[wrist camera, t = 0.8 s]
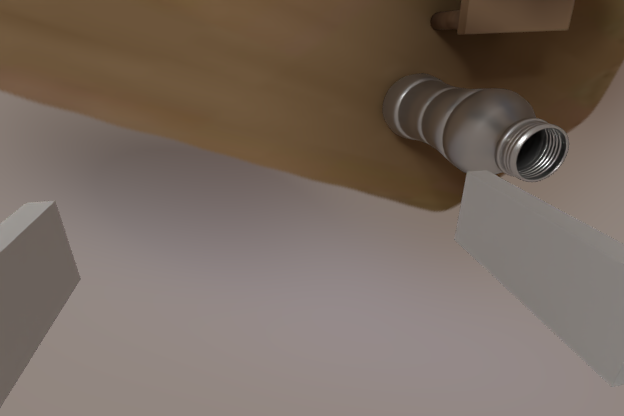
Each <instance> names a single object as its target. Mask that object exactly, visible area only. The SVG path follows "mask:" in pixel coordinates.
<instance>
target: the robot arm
mask: <svg viewBox="0 0 624 416" xmlns="http://www.w3.org/2000/svg"><path fill="white" fill-rule="evenodd" d="M454 240H455V241H456V242H457V243H458V244H459V245H460V246H461V247H462V248H463V249H465V250H466V251H467V252H468V253H469V254H470V255H471V256H472V257H473V258H474V259H475V260H476V261H477V262H478V263H480V264H481V265H482V266H483V267H484V268H485V269H486V270H487V271H488V272H489V273H490V274H491V275H492V276H494V277H495V278H496V279H497V280H498V281H499V282H500V283H501V284H502V285H503V286H504V287H505V288H506V289H507V290H509V291H510V292H511V293H512V294H513V295H514V296H515V297H516V298H517V299H518V300H519V301H520V302H521V303H522V304H523V305H525V306H526V307H527V308H528V309H529V310H530V311H531V312H532V313H533V314H534V315H535V316H536V317H537V318H538V319H540V320H541V321H542V322H543V323H544V324H545V325H546V326H547V327H548V328H549V329H551V331H552V332H553V333H555V334H556V335H557V336H558V337H559V338H560V339H561V340H562V341H563V342H564V343H565V344H567V346H568V347H570V348H571V349H572V350H573V351H574V352H575V353H576V354H577V355H578V356H579V357H580V358H581V359H582V360H584V361H585V362H586V363H587V364H588V365H589V366H590V367H591V368H592V369H593V370H594V371H595V372H596V373H597V374H599V375H600V376H601V377H602V378H603V379H604V380H605V381H606V382H607V383H608V384H609V385H610V386H611V387H614V386H620V385H624V244H623V243H621V242H619V241H617V240H615V239H614V238H612V237H610V236H608V235H606V234H604V233H602V232H601V231H599V230H597V229H595V228H593V227H591V226H589V225H588V224H586V223H584V222H582V221H580V220H578V219H576V218H575V217H572V216H570V215H569V214H567V213H565V212H563V211H561V210H560V209H558V208H556V207H554V206H552V205H550V204H548V203H547V202H545V201H543V200H541V199H539V198H537V197H536V196H534V195H532V194H530V193H528V192H526V191H524V190H523V189H521V188H519V187H517V186H515V185H513V184H511V183H509V182H508V181H506V180H504V179H502V178H500V177H498V176H497V175H495V174H493V173H491V172H489V171H487V170H483V171H468V172H467V174H466V180H465V185H464V190H463V196H462V201H461V206H460V212H459V217H458V222H457V228H456V233H455V239H454ZM79 281H80V276H79V273H78V269H77V266H76V263H75V260H74V257H73V254H72V251H71V248H70V245H69V242H68V239H67V236H66V233H65V229H64V226H63V224H62V220H61V217H60V214H59V211H58V208H57V205H56V202H55V201H46V202H32V203H25V204H24V205H23V206H21V207H20V208H19V209H18V210H17V211H15V212H14V213H13V214H12V215H10V216H9V217H8V218H7V219H6V220H4V221H3V222H2V223H1V224H0V407H1V406H2V404H3V402H4V401H5V399H6V398H7V396H8V395H9V393H10V391H11V390H12V388H13V386H14V385H15V383H16V382H17V380H18V378H19V377H20V375H21V374H22V372H23V371H24V369H25V367H26V366H27V364H28V363H29V361H30V359H31V358H32V356H33V354H34V353H35V351H36V350H37V348H38V346H39V344H40V343H41V342H42V340H43V338H44V337H45V335H46V334H47V332H48V330H49V329H50V327H51V326H52V324H53V322H54V321H55V319H56V318H57V316H58V314H59V313H60V311H61V310H62V308H63V306H64V305H65V303H66V302H67V300H68V298H69V296H70V295H71V293H72V292H73V290H74V289H75V287H76V286H77V284H78V282H79Z"/></svg>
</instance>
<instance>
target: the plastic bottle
mask: <svg viewBox="0 0 624 416" xmlns="http://www.w3.org/2000/svg"><path fill="white" fill-rule="evenodd" d="M382 110H383V117H384V120H385V122H386V123H387V125H388V126H389V128H390V129H391V130H392V131H393V132H394V133H395V134H397V135H398V136H401V137H404V138H407V139H413V140H419V141H422V142H425V143H427V144H429V145H430V146H432V147H433V148H435V149H436V150H438V151H439V152H440V153H441V154H442V155H443V156H444V157H445V158H446V159H447V160H448V161H450V162H451V163H452V164H453V165H454V166H456V167H457V168H458V169H460V170H461V171H463V172H465V173H467V172H468V171H483V170H487V171H489V172H491V173H493V174H498V173H501V172H504V173H505V174H507V175H510V176H515V177H517V178H518V179H520V180H523V181H527V182H537V181H541V180H543V179H545V178H547V177H549V176H550V175H552V174H553V173H554V172H555V171H556V170H557V169H558V168H559V167H560V166H561V164H562V163H563V161H564V160H565V158H566V156H567V153H568V148H569V139H568V136H567V134H566V132H565V131H564V130H563V129H562V128H560V127H558V126H556V125H553V124H549V123H547V122H546V121H544V120H542V119H538V118H536V116H535V113H534V110H533V108H532V106H531V105H530V104H529V102H528V101H526V100H525V99H524V98H523V97H521V96H520V95H519V94H518V93H516V92H513V91H511V90H507V89H498V88H488V89H466V88H457V87H453V86H451V85H448V84H446V83H444V82H443V81H441V80H440V79H438V78H436V77H434V76H432V75H429V74H424V73H421V74H413V75H409V76H405V77H403V78H401V79H399V80H398V81H397V82H395V83H394V84H393V85H392V86H391V87H390V89H389V90H388V92H387V94H386V96H385V98H384V102H383V109H382Z"/></svg>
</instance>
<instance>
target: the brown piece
mask: <svg viewBox="0 0 624 416" xmlns="http://www.w3.org/2000/svg"><path fill="white" fill-rule="evenodd" d="M574 3H575V0H461V7H460V10H453V11H445V12H437V13H435V14H434V15H433V16H432V18H431V27H432V28H433V29H435V30H451V29H458V32H457V34H484V33H508V32H532V31H556V30H568V28H569V24H570V20H571V16H572V11H573V7H574Z"/></svg>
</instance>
